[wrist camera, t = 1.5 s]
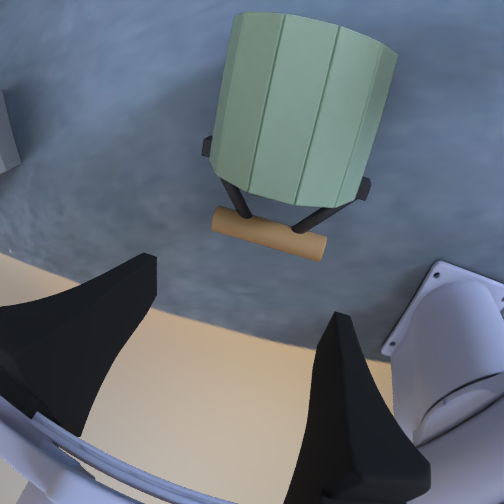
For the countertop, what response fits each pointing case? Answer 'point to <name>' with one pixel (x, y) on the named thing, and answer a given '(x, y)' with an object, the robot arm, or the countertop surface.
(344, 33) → the bucket
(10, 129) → the grey box
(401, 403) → the robot arm
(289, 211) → the countertop surface
